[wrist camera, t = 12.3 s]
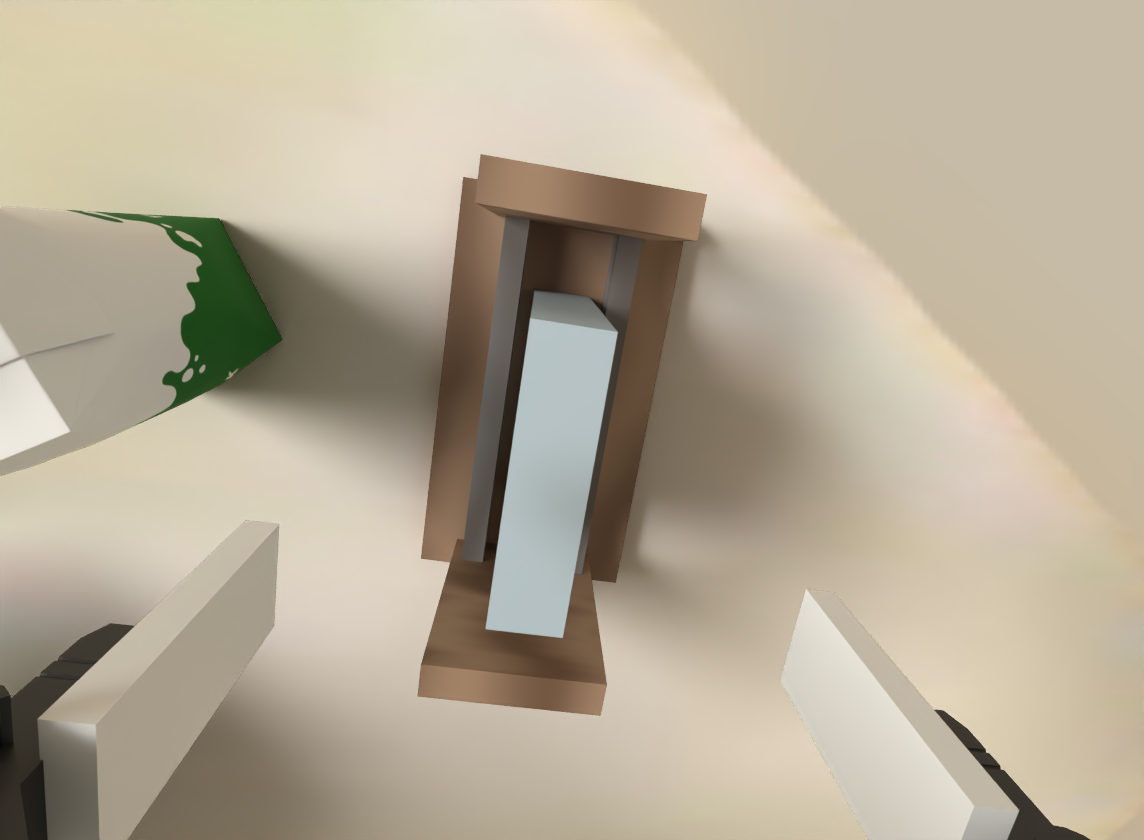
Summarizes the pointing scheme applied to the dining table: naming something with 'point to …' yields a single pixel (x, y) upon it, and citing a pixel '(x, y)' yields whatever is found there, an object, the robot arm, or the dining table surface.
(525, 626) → the door panel
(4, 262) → the milk carton
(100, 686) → the robot arm
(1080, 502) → the dining table surface
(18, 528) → the dining table surface
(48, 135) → the dining table surface
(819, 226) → the dining table surface
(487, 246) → the track frame
